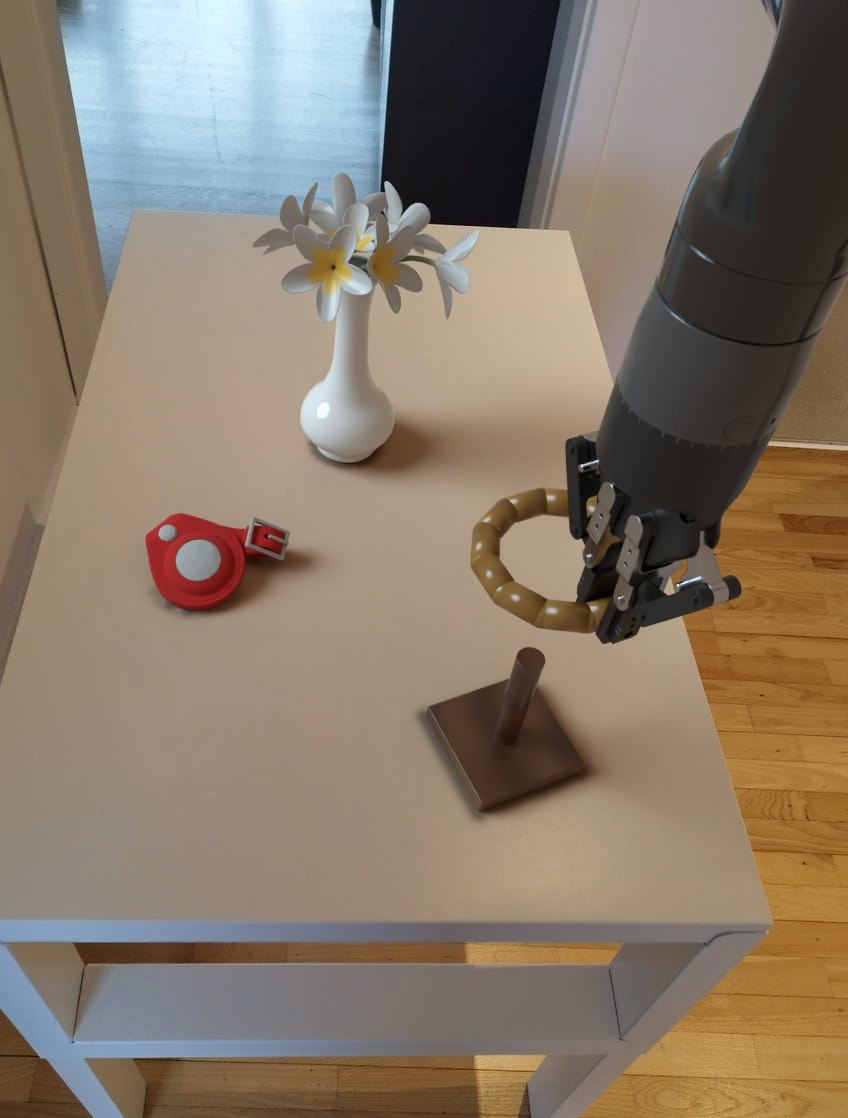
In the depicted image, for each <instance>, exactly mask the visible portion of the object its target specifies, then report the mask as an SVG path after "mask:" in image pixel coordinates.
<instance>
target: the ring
mask: <svg viewBox="0 0 848 1118" xmlns="http://www.w3.org/2000/svg"><path fill="white" fill-rule="evenodd" d="M596 506H597V496H594V497H591V498H589V499H588V500H587V516H588V515H592V514H593V513H594V510H595V508H596ZM540 516H549V517H558V518H568V519H569V512H568V493H567V489H565V488H564V489H563V488H553V487H546V486H541V487H536V488H533V489H530V490H526V491H522V492H518V493H516V494H512V495H509V496H505V497H502V498H500V499H499V500H497V501H496V503H494V505H493V506H492V507H491V508H489V510H488V511H486V513H484V515H483V516H482V517H481V518H480V519H479V520H478V521H477V522H475V524H474V526H473V528H472V531H471V545H470V562H469V564H470V565H469V566H470V569H471V571H472V572H473V574H474V576H475V577H476V579H477V581H479V583H480V584H481V586H482V588H483V589H484V590H485V592H486V594H487V595H488V597H489V598H490V600H491V601H492V602H493V604H494V605H496V606H497V607H499V608H500V609H502V610H504V611H506V612H508V613H510V614H511V615H512V616H513V615H514V616H515V617H517V618H519V619H520V620H522V621H524V622H526V623H528V624H529V625H531V626H533V627H535V628H537V629H540V630H548V631H549V630H550V631H558V632H568V633H575V634H585V635H586V634H593V633H596V631H597V629H598V626H599V623H600V621H601V619H602V616H603V614H604V612H605V609H606V607H607V605H608V602H609V600H610V598H611V597H613V594H612V595H609V596H606V597H603V598H600V599H597V600H594V601H591V602H588V603H579V602H576V601H569V600H559V599H552V598H551V599H550V598H546V597H545V596H543V595H542V594H539V593H537V592H536V591H534V590H532V589H530V588H528V587H527V586H524V585H523V584H521V583H519V582H517V581H516V580H515V578H514V577H513V576H512V574H511V573H510V571H509V570H508V569H507V567H506V566H505V564H504V563H503V562H502V560H501V539H503V537H504V536H505V535H506V534H507V533H508V532H509V530H510V529H511V528H512V527H513V526H514V525H515V524H517V523H521V522H524V521H528V520H530V519H534V518H538V517H540Z"/></svg>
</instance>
